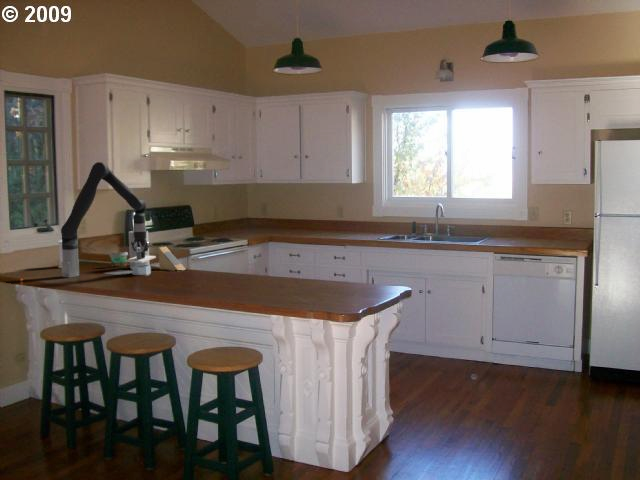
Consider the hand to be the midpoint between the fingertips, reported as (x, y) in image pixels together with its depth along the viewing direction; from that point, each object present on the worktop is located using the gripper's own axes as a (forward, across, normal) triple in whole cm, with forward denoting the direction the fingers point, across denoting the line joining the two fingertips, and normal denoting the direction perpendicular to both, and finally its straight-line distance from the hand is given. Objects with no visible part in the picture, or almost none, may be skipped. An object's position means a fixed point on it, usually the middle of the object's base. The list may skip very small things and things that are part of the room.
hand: (140, 257), depth 428 cm
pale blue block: (+11, 0, 0) cm, 11 cm away
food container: (+11, -36, +19) cm, 42 cm away
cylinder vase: (+11, -17, +18) cm, 27 cm away
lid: (+1, 0, 0) cm, 1 cm away
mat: (+11, -16, -1) cm, 19 cm away
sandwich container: (+11, +5, +24) cm, 27 cm away
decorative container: (+11, -70, +6) cm, 71 cm away
